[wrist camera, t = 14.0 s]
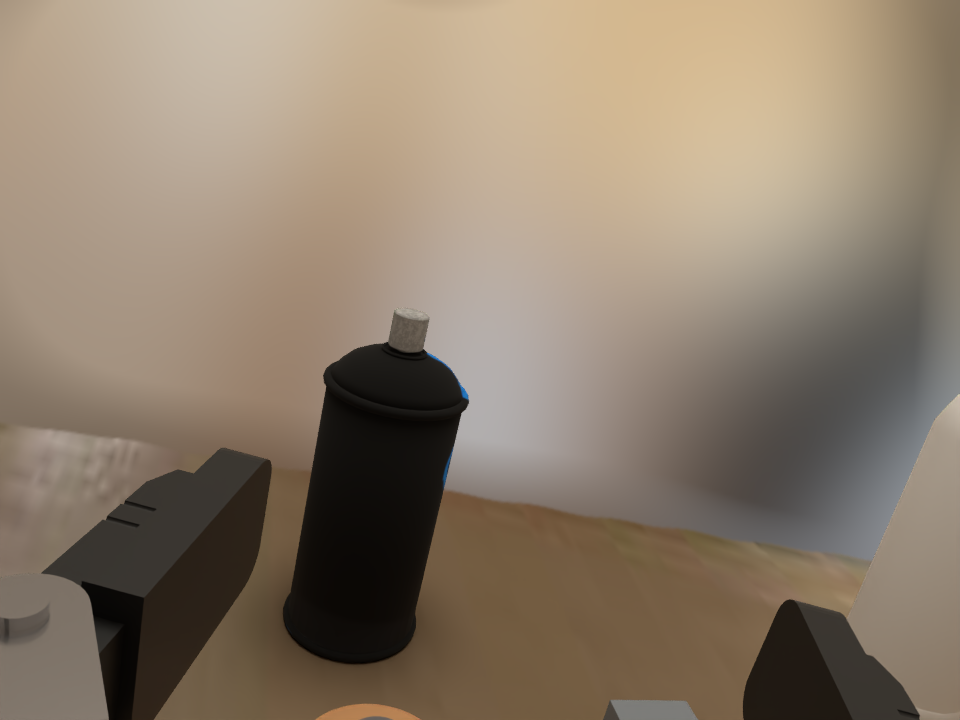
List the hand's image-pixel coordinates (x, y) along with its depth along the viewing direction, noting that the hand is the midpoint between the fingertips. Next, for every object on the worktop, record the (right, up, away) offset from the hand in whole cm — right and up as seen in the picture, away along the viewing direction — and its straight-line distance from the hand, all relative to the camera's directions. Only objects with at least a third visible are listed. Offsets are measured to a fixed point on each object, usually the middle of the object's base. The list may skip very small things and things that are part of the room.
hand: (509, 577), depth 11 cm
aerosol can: (-9, -13, +35) cm, 39 cm away
